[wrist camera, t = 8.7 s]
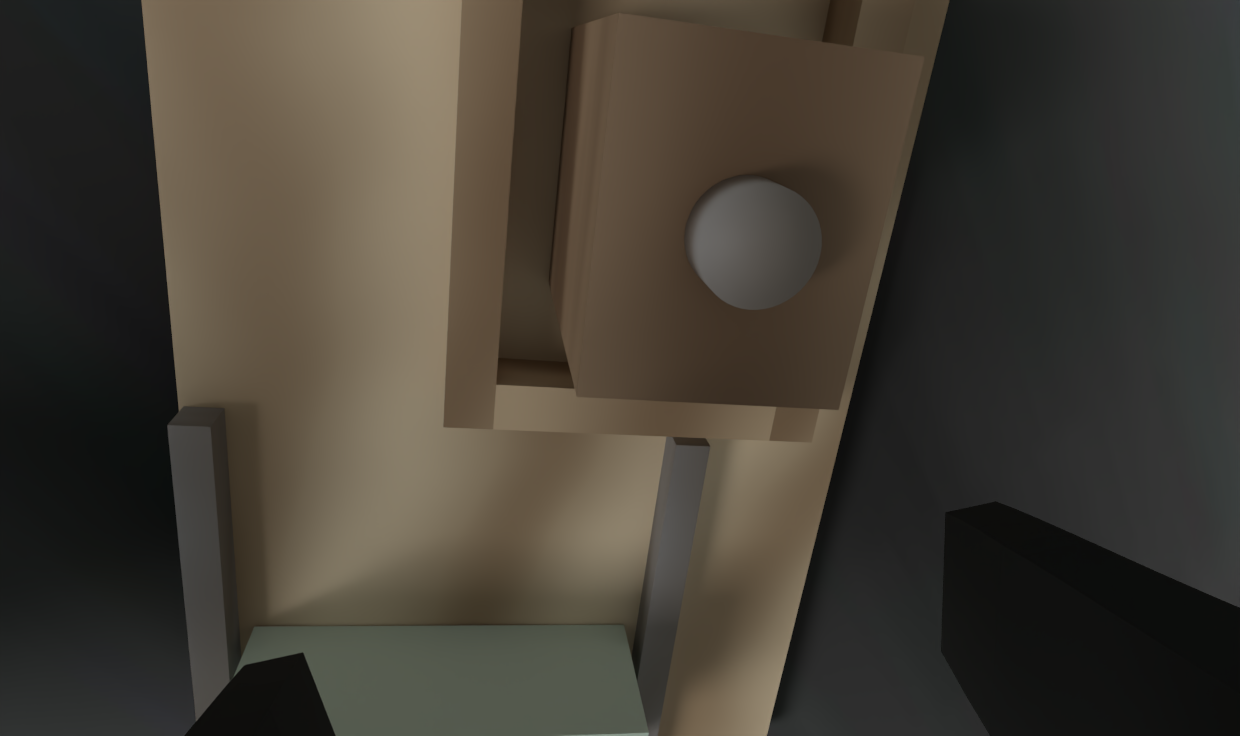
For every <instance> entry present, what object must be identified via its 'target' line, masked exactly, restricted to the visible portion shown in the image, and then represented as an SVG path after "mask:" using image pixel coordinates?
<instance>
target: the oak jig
mask: <svg viewBox="0 0 1240 736" xmlns="http://www.w3.org/2000/svg"><path fill="white" fill-rule="evenodd" d="M948 4H949V0H142V11H143V22H144V33H145V44H146V55H147V66H148V77H149V88H150V99H151V110H152V121H153V132H154V143H155V154H156V165H157V176H158V187H159V198H160V209H161V220H162V231H163V242H164V253H165V264H166V275H167V286H168V297H169V308H170V319H171V330H172V341H173V352H174V363H175V374H176V385H177V396H178V407H179V412H178V413H177V414H176V416H175V417H174V418H173V419H172V420H171V421H170V422H169V424H168V425H167V429H168V439H169V449H170V459H171V470H172V480H173V490H174V500H175V511H176V521H177V531H178V541H179V552H180V562H181V572H182V582H183V592H184V603H185V613H186V623H187V633H188V644H189V654H190V664H191V674H192V685H193V695H194V705H195V715H196V721H197V720H198V719H199V718H200V716H201V715H202V714H203V713H204V712H205V710H206V709H207V708H208V707H209V706H210V704H211V703H212V702H213V701H214V700H215V698H216V697H217V696H218V695H219V694H220V692H221V691H222V690H223V689H224V688H225V687H226V685H227V684H228V683H229V682H230V681H231V680H232V678H233V677H234V674H235V672H236V670H237V667H238V665H239V662H240V660H241V657H242V655H243V653H244V650H245V648H246V645H247V643H248V641H249V638H250V636H251V633H252V631H253V629H254V627H258V626H459V625H624V627H625V631H626V636H627V640H628V644H629V649H630V653H631V657H632V662H633V666H634V670H635V675H636V679H637V683H638V688H639V692H640V696H641V701H642V705H643V709H644V714H645V718H646V722H647V727H648V731H649V735H648V736H767V732H768V728H769V724H770V720H771V716H772V712H773V708H774V704H775V700H776V696H777V692H778V688H779V684H780V680H781V676H782V672H783V668H784V664H785V660H786V656H787V652H788V648H789V644H790V640H791V636H792V632H793V628H794V624H795V620H796V616H797V612H798V608H799V604H800V600H801V596H802V592H803V588H804V584H805V580H806V575H807V571H808V567H809V563H810V559H811V555H812V551H813V547H814V543H815V539H816V535H817V531H818V527H819V523H820V519H821V515H822V511H823V507H824V503H825V499H826V495H827V491H828V487H829V483H830V479H831V475H832V471H833V467H834V463H835V459H836V455H837V451H838V447H839V443H840V439H841V435H842V431H843V427H844V423H845V419H846V415H847V411H848V407H849V403H850V399H851V395H852V391H853V386H854V382H855V378H856V374H857V370H858V366H859V362H860V358H861V354H862V350H863V346H864V342H865V338H866V334H867V330H868V326H869V322H870V318H871V314H872V310H873V306H874V302H875V298H876V294H877V290H878V286H879V282H880V278H881V274H882V270H883V266H884V262H885V258H886V254H887V250H888V246H889V242H890V238H891V234H892V230H893V226H894V222H895V218H896V214H897V210H898V206H899V202H900V197H901V193H902V189H903V185H904V181H905V177H906V173H907V169H908V165H909V161H910V157H911V153H912V149H913V145H914V141H915V137H916V133H917V129H918V125H919V121H920V117H921V113H922V109H923V105H924V101H925V97H926V93H927V89H928V85H929V81H930V77H931V73H932V69H933V65H934V61H935V57H936V53H937V49H938V45H939V41H940V37H941V33H942V29H943V25H944V21H945V17H946V13H947V9H948ZM617 13H625V14H631V15H638V16H645V17H652V18H659V19H666V20H673V21H680V22H687V23H694V24H701V25H708V26H715V27H722V28H729V29H736V30H743V31H750V32H756V33H763V34H770V35H777V36H784V37H791V38H798V39H805V40H812V41H819V42H826V43H833V44H840V45H847V46H854V47H861V48H868V49H874V50H881V51H888V52H895V53H902V54H909V55H916V56H923V57H925V59H924V63H923V67H922V71H921V75H920V79H919V83H918V87H917V91H916V95H915V99H914V104H913V108H912V112H911V116H910V120H909V124H908V128H907V132H906V136H905V140H904V145H903V149H902V153H901V157H900V161H899V165H898V169H897V173H896V177H895V181H894V186H893V190H892V194H891V198H890V202H889V206H888V210H887V214H886V218H885V222H884V227H883V231H882V235H881V239H880V243H879V247H878V251H877V255H876V259H875V263H874V267H873V272H872V276H871V280H870V284H869V288H868V292H867V296H866V300H865V304H864V308H863V313H862V317H861V321H860V325H859V329H858V333H857V337H856V341H855V345H854V349H853V354H852V358H851V362H850V366H849V370H848V374H847V378H846V382H845V386H844V390H843V395H842V399H841V403H840V407H839V410H827V409H807V408H787V407H767V406H747V405H727V404H707V403H687V402H667V401H646V400H626V399H606V398H586V397H577V396H576V392H575V388H574V384H573V380H572V376H571V372H570V368H569V364H568V360H567V356H566V351H565V347H564V343H563V339H562V335H561V331H560V327H559V323H558V319H557V315H556V311H555V307H554V303H553V299H552V295H551V291H550V287H549V271H550V260H551V249H552V238H553V227H554V216H555V205H556V194H557V183H558V172H559V161H560V150H561V139H562V128H563V117H564V106H565V95H566V84H567V73H568V62H569V51H570V40H571V29H572V28H573V27H576V26H579V25H582V24H585V23H588V22H591V21H595V20H598V19H601V18H604V17H607V16H610V15H613V14H617Z"/></svg>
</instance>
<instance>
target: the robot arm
mask: <svg viewBox="0 0 1240 736" xmlns="http://www.w3.org/2000/svg"><path fill="white" fill-rule="evenodd" d="M941 652H942V654H943V655H944V657H945V659H946V661H947V662H948V664H949V666H950V668H951V670H952V671H953V673H954V675H955V677H956V678H957V680H958V682H959V684H960V686H961V687H962V689H963V691H964V693H965V694H966V696H967V698H968V700H969V701H970V703H971V705H972V706H973V708H974V710H975V711H976V713H977V715H978V716H979V718H980V720H981V721H982V723H983V725H984V726H985V728H986V730H987V731H988V733H989V734H990V736H1240V608H1239V607H1236V606H1234V605H1232V604H1229V603H1227V602H1225V601H1222V600H1220V599H1218V598H1215V597H1213V596H1211V595H1208V594H1206V593H1204V592H1201V591H1199V590H1197V589H1195V588H1192V587H1190V586H1188V585H1186V584H1183V583H1181V582H1179V581H1176V580H1174V579H1172V578H1170V577H1167V576H1165V575H1163V574H1161V573H1158V572H1156V571H1154V570H1152V569H1149V568H1147V567H1145V566H1143V565H1140V564H1138V563H1136V562H1134V561H1132V560H1129V559H1127V558H1125V557H1123V556H1120V555H1118V554H1116V553H1114V552H1112V551H1109V550H1107V549H1105V548H1103V547H1101V546H1098V545H1096V544H1094V543H1092V542H1089V541H1087V540H1085V539H1083V538H1081V537H1078V536H1076V535H1074V534H1072V533H1069V532H1067V531H1065V530H1063V529H1060V528H1058V527H1056V526H1054V525H1051V524H1049V523H1047V522H1045V521H1042V520H1040V519H1038V518H1035V517H1033V516H1031V515H1028V514H1026V513H1024V512H1021V511H1019V510H1016V509H1014V508H1011V507H1009V506H1006V505H1003V504H1001V503H998V502H992V503H987V504H982V505H978V506H973V507H969V508H964V509H959V510H955V511H950V512H946V514H945V545H944V576H943V608H942V639H941ZM185 736H336V735H335V733H334V730H333V728H332V725H331V722H330V720H329V717H328V715H327V712H326V710H325V707H324V704H323V702H322V699H321V697H320V694H319V692H318V689H317V686H316V684H315V681H314V679H313V676H312V674H311V671H310V668H309V666H308V663H307V661H306V658H305V656H304V653H303V652H302V653H297V654H293V655H288V656H284V657H279V658H274V659H270V660H265V661H261V662H256V663H251V664H247V665H244V666H243V667H242V668H241V669H240V671H239V672H238V673H237V674H236V675H235V676H234V677H233V678H232V680H231V681H230V682H229V683H228V684H227V685H226V687H225V688H224V689H223V690H222V691H221V692H220V694H219V695H218V696H217V697H216V698H215V700H214V701H213V702H212V703H211V704H210V706H209V707H208V708H207V709H206V710H205V712H204V713H203V714H202V715H201V716H200V718H199V719H198V720H197V721H196V722H195V724H194V725H193V726H192V727H191V729H190V730H189V731H188V732H187V733H186V735H185Z"/></svg>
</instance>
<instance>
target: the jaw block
mask: <svg viewBox="0 0 1240 736" xmlns="http://www.w3.org/2000/svg"><path fill="white" fill-rule="evenodd" d="M924 59H925V57H923V56H916V55H909V54H902V53H895V52H888V51H881V50H874V49H868V48H861V47H854V46H847V45H840V44H833V43H826V42H819V41H812V40H805V39H798V38H791V37H784V36H777V35H770V34H763V33H756V32H750V31H743V30H736V29H729V28H722V27H715V26H708V25H701V24H694V23H687V22H680V21H673V20H666V19H659V18H652V17H645V16H638V15H631V14H625V13H617V14H613V15H610V16H607V17H604V18H601V19H598V20H595V21H591V22H588V23H585V24H582V25H579V26H576V27H573V28H572V29H571V40H570V51H569V62H568V73H567V84H566V95H565V106H564V117H563V128H562V139H561V150H560V161H559V172H558V183H557V194H556V205H555V216H554V227H553V238H552V249H551V260H550V271H549V287H550V291H551V295H552V299H553V303H554V307H555V311H556V315H557V319H558V323H559V327H560V331H561V335H562V339H563V343H564V347H565V351H566V356H567V360H568V364H569V368H570V372H571V376H572V380H573V384H574V388H575V392H576V396H577V397H586V398H606V399H626V400H646V401H667V402H687V403H707V404H727V405H747V406H767V407H787V408H807V409H827V410H839V407H840V403H841V399H842V395H843V390H844V386H845V382H846V378H847V374H848V370H849V366H850V362H851V358H852V354H853V349H854V345H855V341H856V337H857V333H858V329H859V325H860V321H861V317H862V313H863V308H864V304H865V300H866V296H867V292H868V288H869V284H870V280H871V276H872V272H873V267H874V263H875V259H876V255H877V251H878V247H879V243H880V239H881V235H882V231H883V227H884V222H885V218H886V214H887V210H888V206H889V202H890V198H891V194H892V190H893V186H894V181H895V177H896V173H897V169H898V165H899V161H900V157H901V153H902V149H903V145H904V140H905V136H906V132H907V128H908V124H909V120H910V116H911V112H912V108H913V104H914V99H915V95H916V91H917V87H918V83H919V79H920V75H921V71H922V67H923V63H924Z"/></svg>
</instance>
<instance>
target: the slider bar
mask: <svg viewBox="0 0 1240 736" xmlns="http://www.w3.org/2000/svg"><path fill="white" fill-rule="evenodd" d="M302 652H303V653H304V656H305V658H306V661H307V663H308V666H309V668H310V671H311V674H312V676H313V679H314V681H315V684H316V686H317V689H318V692H319V694H320V697H321V699H322V702H323V704H324V707H325V710H326V712H327V715H328V717H329V720H330V722H331V725H332V728H333V730H334V733H335V735H336V736H648V735H649V731H648V727H647V722H646V718H645V714H644V709H643V705H642V701H641V696H640V692H639V688H638V683H637V679H636V675H635V670H634V666H633V662H632V657H631V653H630V649H629V644H628V640H627V636H626V631H625V627H624V625H459V626H258V627H254V629H253V631H252V633H251V636H250V638H249V641H248V643H247V645H246V648H245V650H244V653H243V655H242V657H241V660H240V662H239V665H238V667H237V670H236V672H235V674H234V676H235V675H236V674H237V673H238V672H239V671H240V669H241V668H242V667H243V666H244V665H247V664H251V663H256V662H261V661H265V660H270V659H274V658H279V657H284V656H288V655H293V654H297V653H302Z"/></svg>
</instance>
